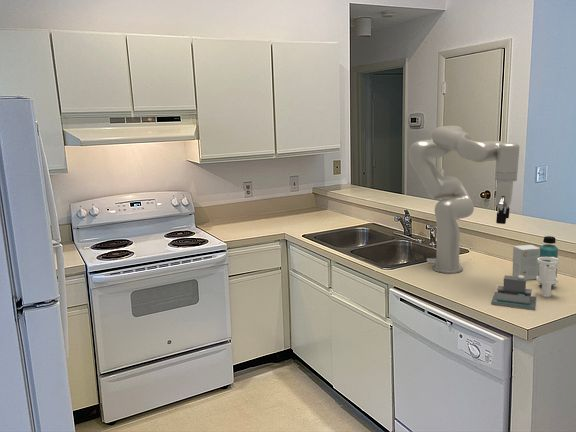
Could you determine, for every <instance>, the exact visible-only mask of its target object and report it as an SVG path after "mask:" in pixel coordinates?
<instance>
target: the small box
mask: <svg viewBox="0 0 576 432" xmlns="http://www.w3.org/2000/svg"><path fill="white" fill-rule="evenodd" d="M512 249H513V250H512V251H513V252H512V255H513V256H512V272H511V273H512V274H511V276H516V277H518V275H523V276H524V277H526V281H529V280H530V281H531V280H536V277H537V276H538V272H539V263H538V262H537V258H539V257H540V247H538V246H537V245H534V244H523V245H522V244H521V245H513V248H512Z"/></svg>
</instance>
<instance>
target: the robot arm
mask: <svg viewBox="0 0 576 432" xmlns="http://www.w3.org/2000/svg"><path fill="white" fill-rule="evenodd" d="M430 136H431V137H430V138H431V139H421V140H417V141H415V142H413V143H412V144H411V146H410V147H409V149H408V160H409V163H410V165H411V167H412V169H414V171H415V173H416V174H417V176H418V178H419V179H420V181H421V183H422V185H423V186H424V189H425V191H426V192H427V194H428V195H429V197H430V198H431V199H432V200H439V201H438V202H437V203H436V204H435V206H434V216H435V220H436V258H435V257H434V258H431V257H430V258H428V257H427V258H426V263H427V264H430V265H432V270H434V271H435V272H438V273H440V274H441V273H442V274H458V273H461V272H463V268H464V267H463V266H462V265H461V264H460V241H461V240H460V239H461V238H460V234H461V233H460V232H461V231H460V227H459V224H458V222H457V220H460V219H466V218H468V217H470V216H472V215H473V213H474V209H475V206H474V202H473V200H472V198H471V197H470V194H469V193H468V191H467V189H466V188H465V186H464V184H463V183H462V181H461V180H460V179H459V178H458V177H456V176H453V175H448V176H443V175H442V173H440V171H439V169H438V167H437V166H436V165H435V164H434V163H432V162H431V161H430V159H437V158H438V159H439V158H442V157H445V156H447V155H448V154H449V153H451V152H452V151H454V152H456V153H457V155H458V156H460V158H464V159H466V160H468V161H471V162H475V163H483V162H493V161H494V162H495V173H494V174H495V175H494V180H495V181H496V187H495V188H496V189H495V198H494V199H495V200H494V206H495V207H496V208H497V212H496V221H495V223H496V224H500V225H506V223H507V222H506V221H507V219H509V218H510V208H511V207H510V205H511V203H512V199H513V188H514V182H517V180H518V171H519V170H518V169H519V161H520V160H519V157H520V145H519V144H518V143H515V142H504V141H500V140H491V141H490V140H489V141H488V140H487V141H475V140H472V139H471V135H470V133H468V132H466V131H464V129H463V128H462V127H461V126H460V125H445V126H444V125H443V126H438V127H436V128H434V129H433V131H432V132H431V135H430Z"/></svg>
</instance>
